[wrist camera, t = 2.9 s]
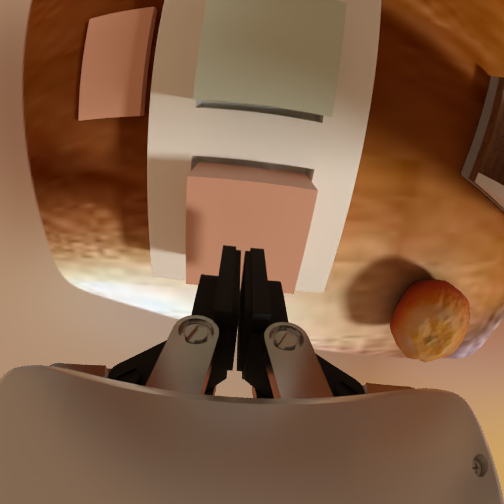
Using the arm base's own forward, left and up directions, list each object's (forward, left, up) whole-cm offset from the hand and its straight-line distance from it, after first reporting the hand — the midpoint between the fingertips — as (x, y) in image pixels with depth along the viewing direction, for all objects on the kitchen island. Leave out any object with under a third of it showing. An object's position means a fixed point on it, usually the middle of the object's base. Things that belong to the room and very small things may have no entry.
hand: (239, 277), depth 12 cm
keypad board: (-10, 0, -9) cm, 13 cm away
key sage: (-10, 0, -6) cm, 11 cm away
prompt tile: (-10, -10, -9) cm, 16 cm away
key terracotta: (0, 0, -6) cm, 6 cm away
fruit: (+7, +18, -9) cm, 22 cm away
